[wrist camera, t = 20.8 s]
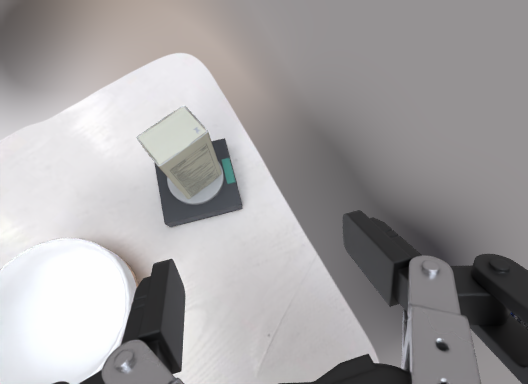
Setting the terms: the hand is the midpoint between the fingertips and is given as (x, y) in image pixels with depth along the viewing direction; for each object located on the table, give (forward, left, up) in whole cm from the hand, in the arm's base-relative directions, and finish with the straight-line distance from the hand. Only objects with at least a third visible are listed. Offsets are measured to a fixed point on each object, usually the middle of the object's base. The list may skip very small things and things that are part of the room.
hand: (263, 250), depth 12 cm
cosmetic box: (+5, -15, -24) cm, 29 cm away
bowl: (+22, -1, -28) cm, 35 cm away
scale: (+5, -15, -27) cm, 31 cm away
